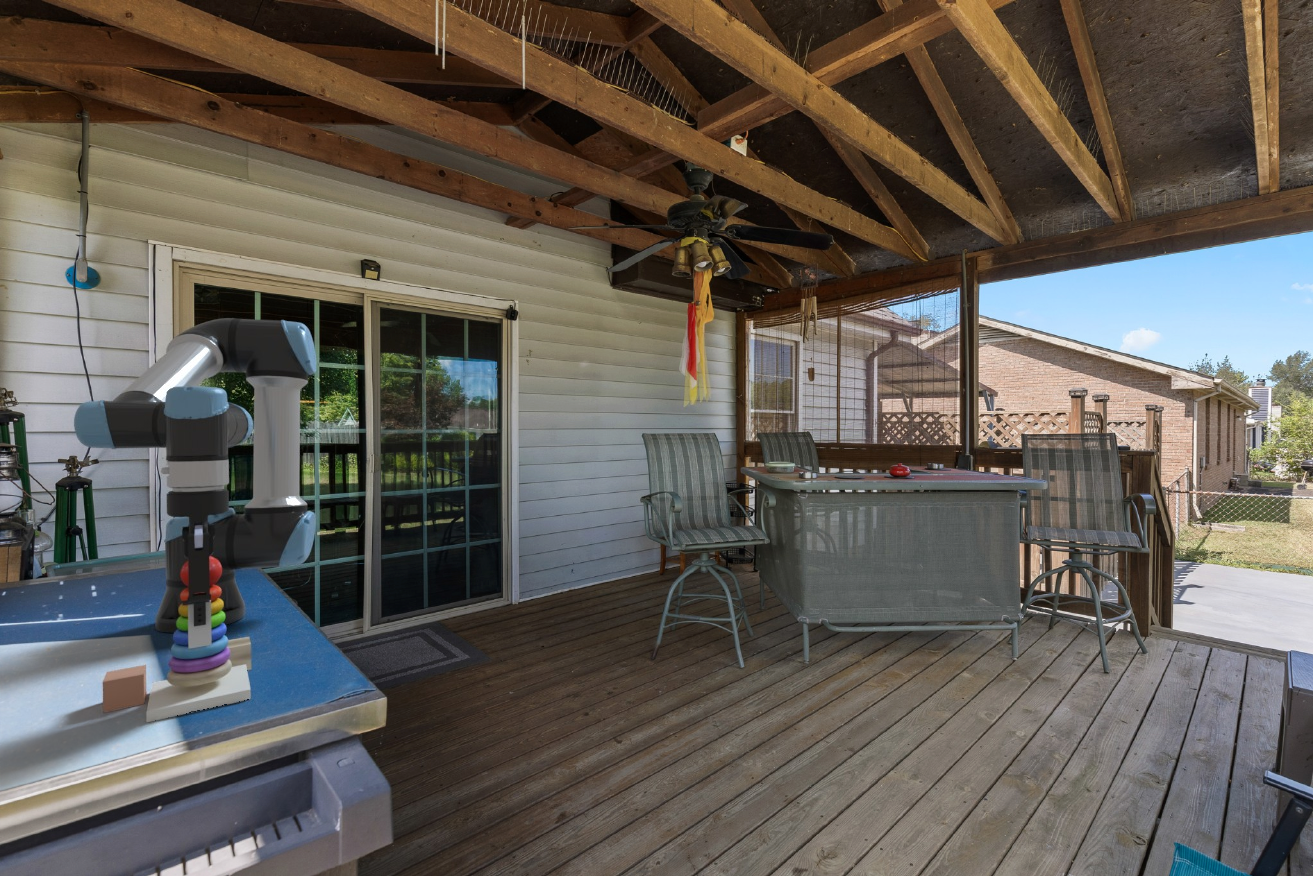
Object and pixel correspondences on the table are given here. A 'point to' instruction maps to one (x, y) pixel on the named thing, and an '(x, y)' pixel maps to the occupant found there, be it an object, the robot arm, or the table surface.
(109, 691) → the terracotta block
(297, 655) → the table surface
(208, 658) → the stacking toy
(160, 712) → the white square slab
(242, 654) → the birch block
